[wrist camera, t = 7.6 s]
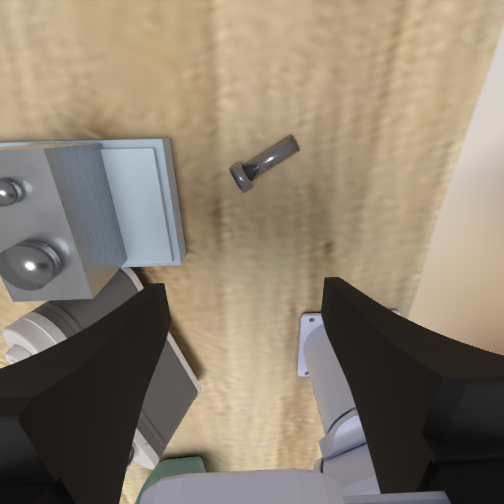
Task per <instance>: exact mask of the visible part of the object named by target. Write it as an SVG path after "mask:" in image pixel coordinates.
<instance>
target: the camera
mask: <svg viewBox="0 0 504 504" xmlns="http://www.w3.org/2000/svg"><path fill="white" fill-rule="evenodd" d="M142 289H143V286H142V284H141V282H140V281H139V279H138V277H137V276H136V274H135V273H134V272H133V271H132V270H131V269H130V268H129V267H121V268H120V269H119V270H118V271H117V272H116V273H115V274H114V276H113V277H112V278H111V279H110V280H109V281H108V282H107V284H106V285H105V286H104V287H103V288H102V289H101V290H100V292H99V293H98V294H97V295H96V296H95V297H94V298H93V299H73V300H49V301H47V302H46V303H44V304H42V305H41V306H39V307H38V308H36V309H35V310H33V311H31V312H29V313H27V314H26V315H24V316H22V317H21V318H19V319H18V320H17V321H15V322H14V323H12V324H11V325H9V326H7V327H6V328H4V330H3V332H2V335H3V338H4V340H5V342H6V343H7V345H8V346H9V347H10V349H9V350H8V351H7V352H6V353H5V355H4V356H5V358H6V360H7V361H8V362H9V363H10V365H11V364H14V363H16V362H18V361H21V360H23V359H25V358H28V357H30V356H32V355H35V354H37V353H39V352H41V351H43V350H45V349H47V348H49V347H51V346H53V345H55V344H57V343H59V342H62V341H64V340H66V339H67V338H69V337H71V336H73V335H75V334H77V333H78V332H80V331H82V330H84V329H85V328H87V327H89V326H90V325H92V324H93V323H95V322H97V321H98V320H100V319H101V318H103V317H104V316H106V315H107V314H109V313H110V312H111V311H113V310H114V309H116V308H117V307H119V306H120V305H121V304H123V303H124V302H126V301H127V300H128V299H130V298H131V297H132V296H134V295H135V294H136V293H138V292H139V291H140V290H142ZM200 391H201V386H200V384H199V382H198V380H197V379H196V377H195V375H194V374H193V372H192V370H191V368H190V367H189V365H188V363H187V362H186V360H185V358H184V356H183V355H182V353H181V351H180V349H179V348H178V346H177V344H176V343H175V341H174V339H173V337H172V336H171V334H170V332H168V336H167V340H166V343H165V345H164V348H163V351H162V353H161V356H160V358H159V361H158V363H157V366H156V369H155V371H154V374H153V376H152V379H151V381H150V384H149V386H148V389H147V392H146V395H145V398H144V402H143V406H142V409H141V413H140V416H139V420H138V424H137V428H136V432H135V436H134V439H133V443H132V447H131V452H130V456H129V460H128V465H127V469H128V468H129V466H130V465H131V463H132V462H133V461H134V462H136V463H137V464H139V465H141V466H143V467H145V468H147V469H151V470H153V469H154V468H155V467H156V465H157V463H158V462H159V459H160V458H161V456H162V454H163V453H164V451H165V449H166V446H167V444H168V443H169V441H170V439H171V438H172V436H173V434H174V433H175V431H176V429H177V428H178V426H179V424H180V422H181V421H182V419H183V417H184V416H185V414H186V412H187V411H188V409H189V407H190V406H191V404H192V402H193V401H194V400H195V399H196V397H197V396H198V394H199V392H200ZM127 469H126V471H127Z"/></svg>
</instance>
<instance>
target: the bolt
mask: <svg viewBox="0 0 504 504" xmlns="http://www.w3.org/2000/svg"><path fill="white" fill-rule="evenodd" d="M298 151H300V149H299V146H298V144H297V142H296V140H295V139H294V137H293V136H292V135H290V136H289V137H287V138H285V139H284V140H282V141H281V142H279V143H278V144H276V145H275V146H273V147H271V148H270V149H268V150H267V151H265V152H264V153H262V154H261V155H259V156H257V157H256V158H254V159H253V160H251V161H250V162H248V163H247V164H245V165H243V166H242V165H241V164H240V162H238V163H237V164H235V165H234V166H232V167H231V168H229V170H230V172H231V174H232V176H233V178H234V180H235V181H236V183H237V185H238V186H239V188H240V189H241V190H242V192H243V193H245V192H247V191H248V190H250V189H252V188H253V187H254V186H253V184H252V182H251V181H252V180H253V179H255V178H257V177H258V176H260V175H261V174H263V173H265V172H266V171H268V170H269V169H271V168H273V167H274V166H276V165H277V164H279V163H281V162H282V161H284V160H285V159H287V158H289V157H290V156H292V155H293V154H295V153H297V152H298Z"/></svg>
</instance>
